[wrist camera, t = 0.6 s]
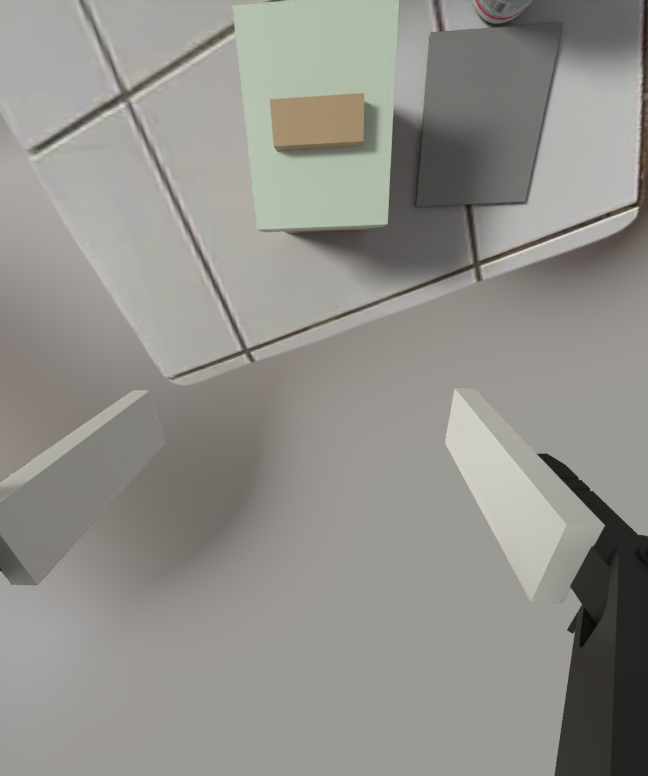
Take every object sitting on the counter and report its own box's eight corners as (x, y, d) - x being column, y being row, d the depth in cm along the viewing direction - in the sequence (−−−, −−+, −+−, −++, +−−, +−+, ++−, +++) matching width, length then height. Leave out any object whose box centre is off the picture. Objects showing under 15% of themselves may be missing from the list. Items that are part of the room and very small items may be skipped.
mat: (429, 36, 26) (431, 32, 26) (559, 26, 25) (562, 22, 25) (415, 206, 31) (416, 206, 31) (522, 202, 31) (524, 201, 30)
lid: (244, 34, 20) (226, -8, 17) (392, 22, 19) (402, -24, 16) (264, 232, 25) (253, 228, 22) (383, 227, 24) (389, 222, 21)
